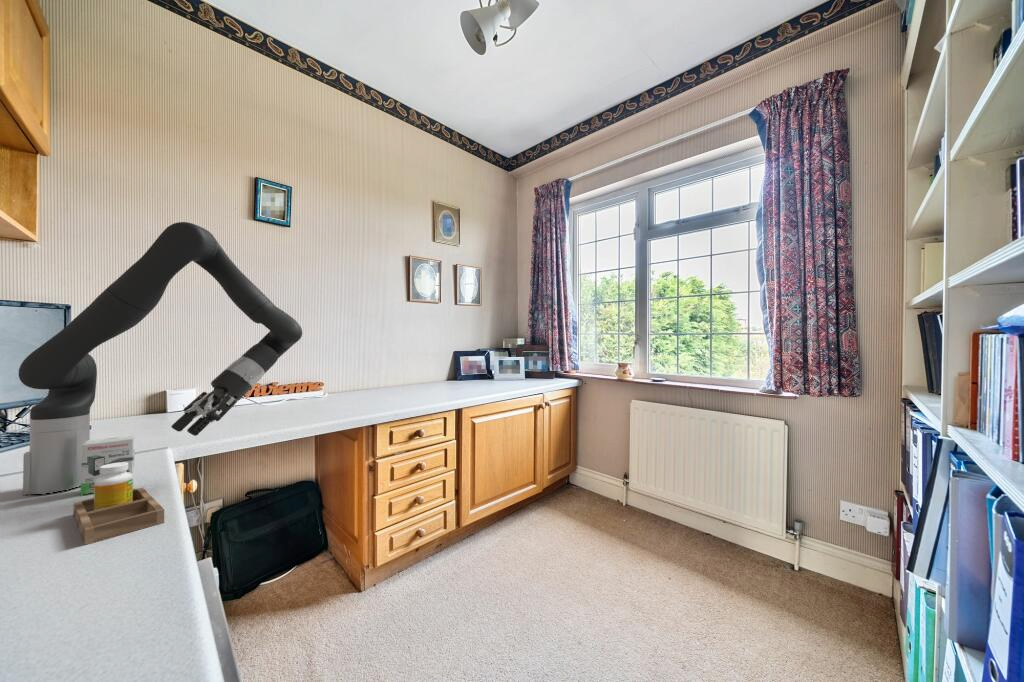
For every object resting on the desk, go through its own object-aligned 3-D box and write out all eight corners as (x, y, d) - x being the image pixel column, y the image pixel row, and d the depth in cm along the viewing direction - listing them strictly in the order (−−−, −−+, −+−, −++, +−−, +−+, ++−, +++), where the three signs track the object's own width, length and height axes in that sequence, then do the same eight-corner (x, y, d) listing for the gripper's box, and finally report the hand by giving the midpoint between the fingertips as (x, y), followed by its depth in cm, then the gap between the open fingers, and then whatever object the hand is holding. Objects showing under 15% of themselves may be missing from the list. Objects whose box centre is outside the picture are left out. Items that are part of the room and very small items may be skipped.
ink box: (79, 496, 84) (79, 444, 85) (82, 490, 88) (83, 440, 88) (133, 486, 90) (133, 437, 91) (134, 481, 94) (134, 434, 94)
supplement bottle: (133, 512, 76) (133, 464, 76) (93, 521, 72) (94, 470, 72) (132, 504, 80) (132, 459, 80) (94, 513, 76) (95, 465, 76)
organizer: (73, 514, 75) (73, 502, 75) (142, 498, 83) (142, 487, 83) (85, 544, 63) (85, 530, 63) (164, 522, 71) (164, 509, 71)
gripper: (214, 367, 97) (155, 419, 87) (241, 369, 90) (181, 425, 80) (236, 386, 102) (183, 437, 92) (265, 388, 95) (210, 444, 85)
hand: (182, 431), depth 86 cm, fingers open, 8 cm apart
